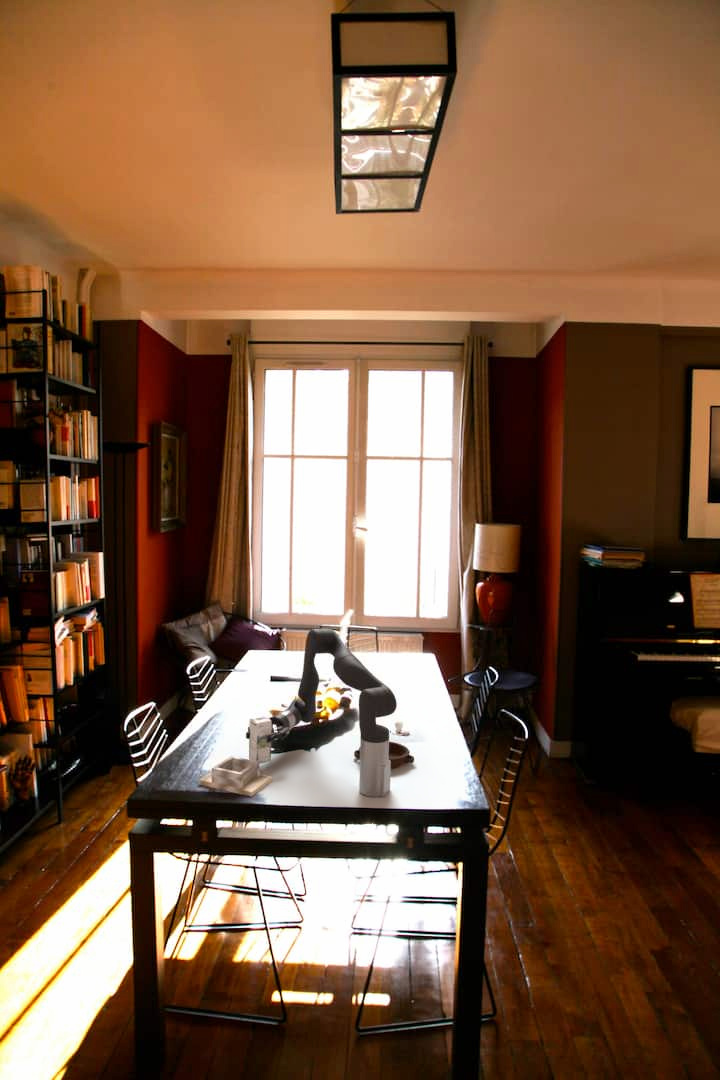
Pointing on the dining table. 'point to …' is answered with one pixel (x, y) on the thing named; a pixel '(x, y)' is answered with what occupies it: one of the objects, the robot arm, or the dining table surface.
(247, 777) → the collar board
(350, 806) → the dining table surface
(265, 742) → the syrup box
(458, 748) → the dining table surface
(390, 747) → the dish
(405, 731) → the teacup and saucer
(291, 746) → the dining table surface
